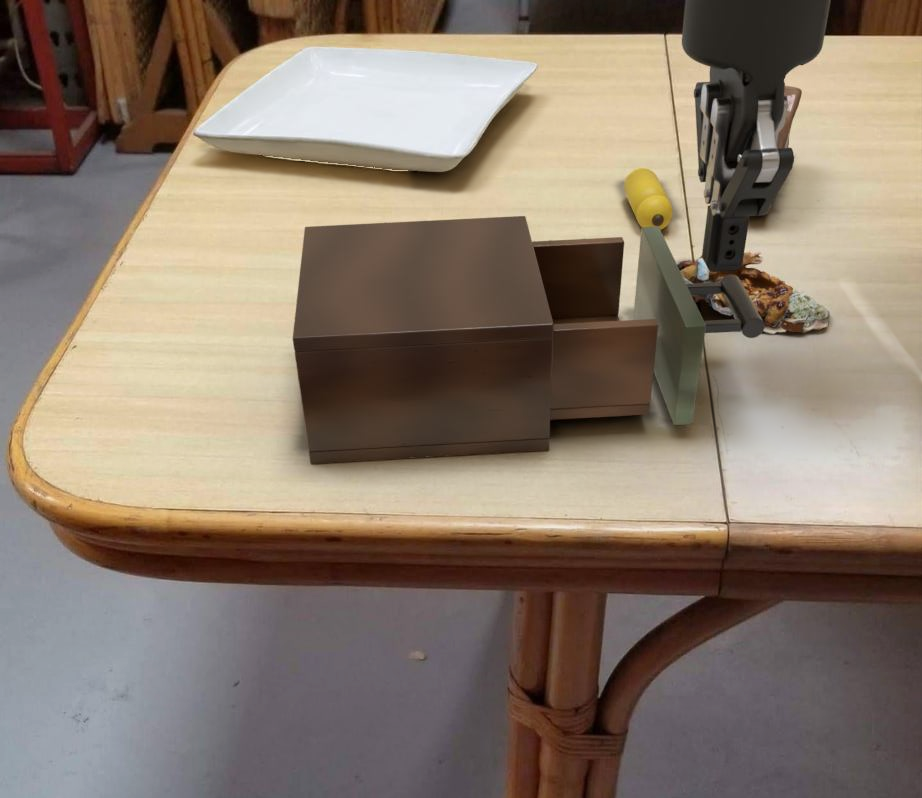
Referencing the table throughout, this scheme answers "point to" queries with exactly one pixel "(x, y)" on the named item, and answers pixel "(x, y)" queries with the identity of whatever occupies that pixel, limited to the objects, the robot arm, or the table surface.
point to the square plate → (369, 108)
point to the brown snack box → (788, 118)
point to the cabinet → (422, 340)
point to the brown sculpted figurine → (761, 296)
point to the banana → (648, 199)
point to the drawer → (629, 327)
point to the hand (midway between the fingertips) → (721, 265)
